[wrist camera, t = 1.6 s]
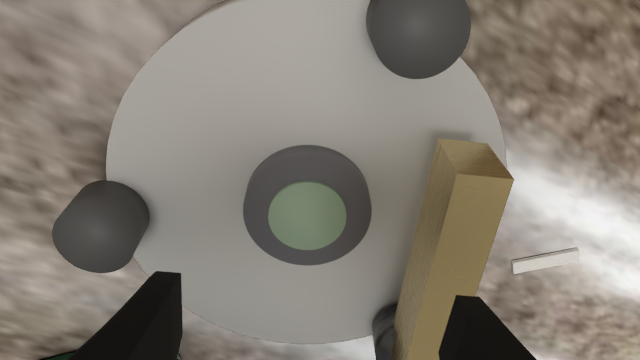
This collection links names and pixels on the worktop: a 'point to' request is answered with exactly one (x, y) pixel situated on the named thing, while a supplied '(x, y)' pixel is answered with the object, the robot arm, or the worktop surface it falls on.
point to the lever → (445, 248)
